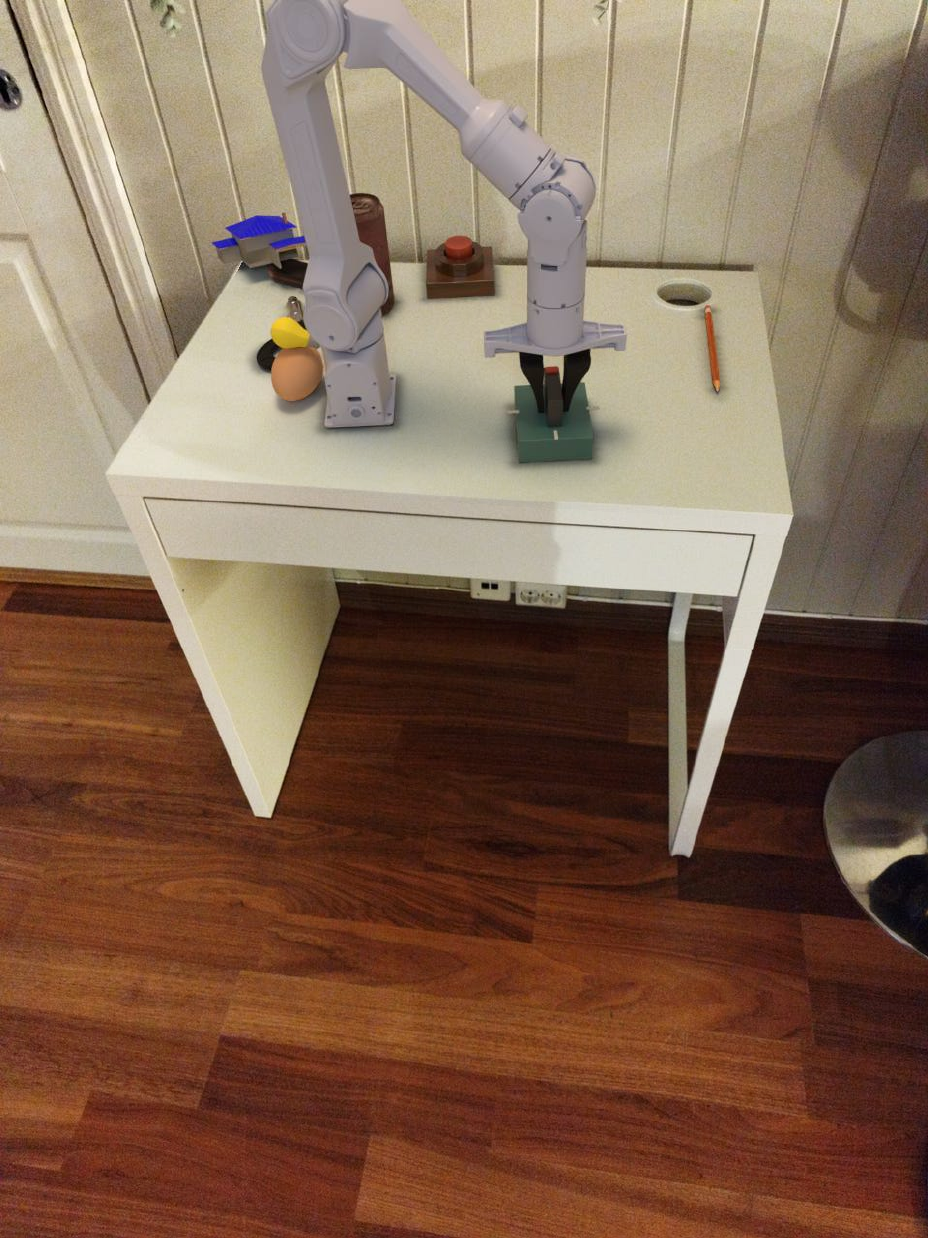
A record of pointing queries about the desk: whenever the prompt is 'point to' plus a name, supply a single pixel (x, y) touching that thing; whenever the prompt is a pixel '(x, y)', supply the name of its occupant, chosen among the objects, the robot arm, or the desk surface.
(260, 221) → the house
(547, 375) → the battery with red terminal
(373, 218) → the can
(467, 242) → the button
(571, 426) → the panel
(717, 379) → the pencil
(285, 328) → the light bulb
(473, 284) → the button block
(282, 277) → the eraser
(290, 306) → the micrometer
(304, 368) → the egg
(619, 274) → the desk surface
